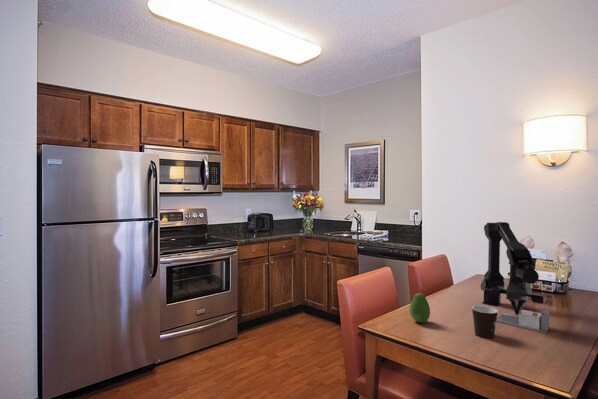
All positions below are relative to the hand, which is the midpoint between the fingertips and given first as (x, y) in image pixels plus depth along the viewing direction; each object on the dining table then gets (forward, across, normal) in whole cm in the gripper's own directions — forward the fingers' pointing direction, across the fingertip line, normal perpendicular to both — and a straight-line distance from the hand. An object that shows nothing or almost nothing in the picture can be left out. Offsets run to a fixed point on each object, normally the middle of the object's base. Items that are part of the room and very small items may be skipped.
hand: (517, 314), depth 144 cm
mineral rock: (+4, -9, +53) cm, 54 cm away
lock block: (+3, +5, 0) cm, 6 cm away
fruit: (+4, -29, -27) cm, 40 cm away
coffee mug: (+4, -5, -21) cm, 22 cm away
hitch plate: (+4, +2, 0) cm, 4 cm away
